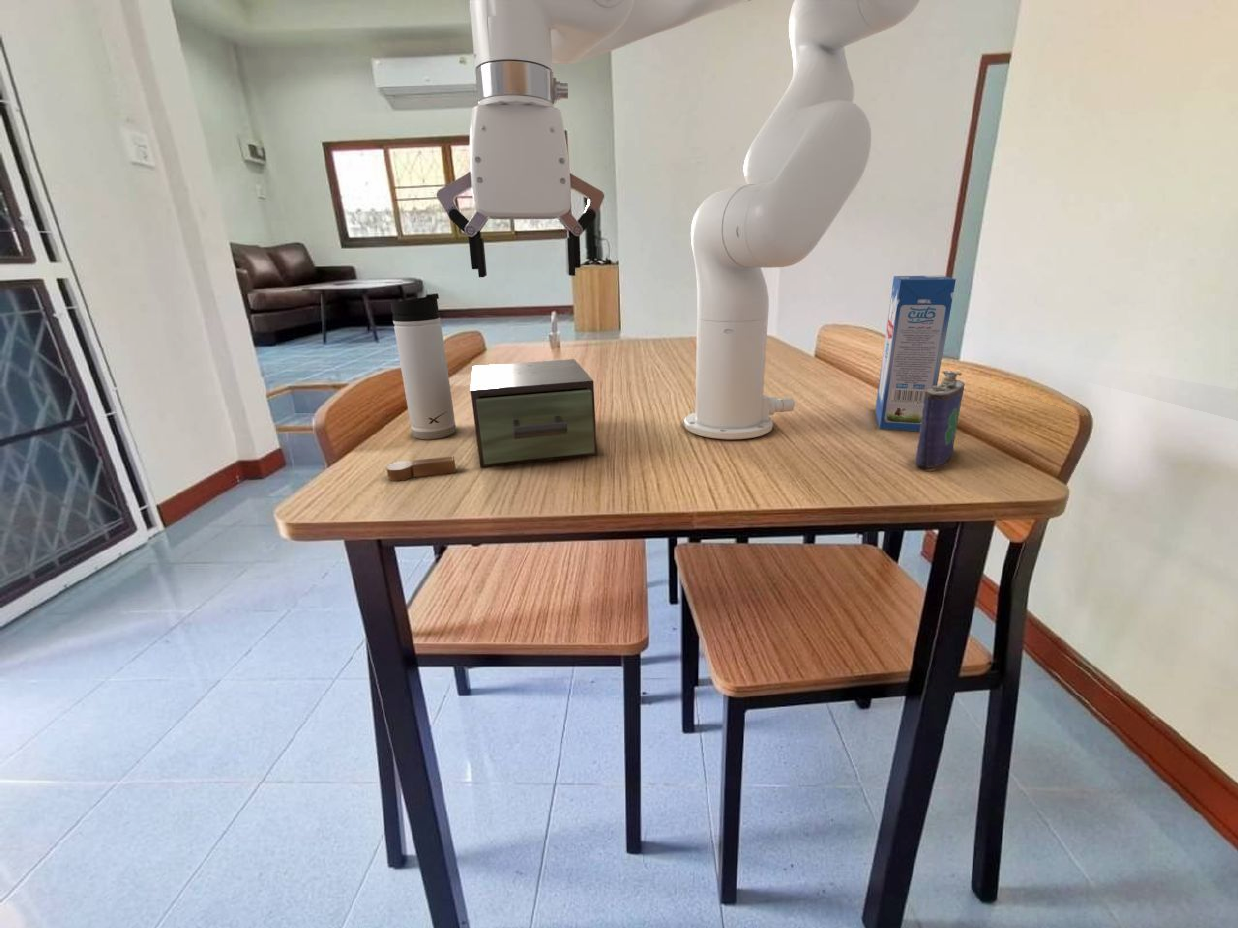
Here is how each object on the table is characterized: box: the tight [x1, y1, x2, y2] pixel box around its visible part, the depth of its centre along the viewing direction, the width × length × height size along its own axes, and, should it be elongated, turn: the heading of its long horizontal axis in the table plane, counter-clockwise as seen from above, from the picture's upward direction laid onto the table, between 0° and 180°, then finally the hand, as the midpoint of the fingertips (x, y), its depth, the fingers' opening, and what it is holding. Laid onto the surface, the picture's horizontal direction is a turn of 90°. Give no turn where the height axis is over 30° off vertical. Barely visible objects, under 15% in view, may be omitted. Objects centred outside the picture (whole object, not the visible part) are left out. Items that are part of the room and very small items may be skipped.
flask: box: [913, 370, 965, 472], centre depth 65 cm, size 9×3×11 cm, turn 138°
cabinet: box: [469, 358, 598, 468], centre depth 76 cm, size 16×15×10 cm
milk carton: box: [875, 274, 957, 432], centre depth 79 cm, size 10×6×20 cm, turn 160°
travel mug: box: [390, 292, 457, 440], centre depth 80 cm, size 6×7×20 cm
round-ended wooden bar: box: [385, 456, 456, 482], centre depth 68 cm, size 8×3×2 cm, turn 103°
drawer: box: [476, 389, 594, 464], centre depth 72 cm, size 20×14×8 cm
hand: (527, 276), depth 62 cm, fingers open, 9 cm apart
